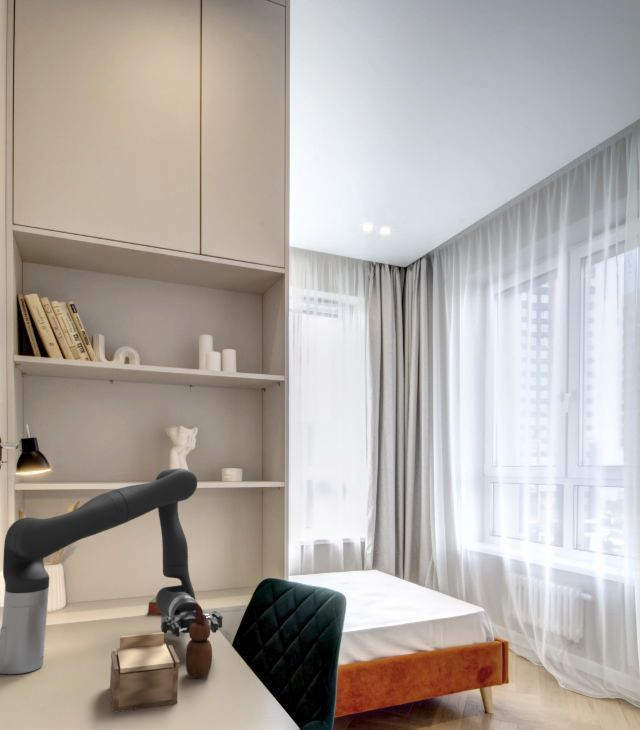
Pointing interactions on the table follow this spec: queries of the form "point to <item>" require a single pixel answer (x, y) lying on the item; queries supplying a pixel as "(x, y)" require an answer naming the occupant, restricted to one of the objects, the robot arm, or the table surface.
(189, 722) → the table surface
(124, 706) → the light wooden box
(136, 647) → the lid
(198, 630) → the wooden figurine
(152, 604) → the carton
